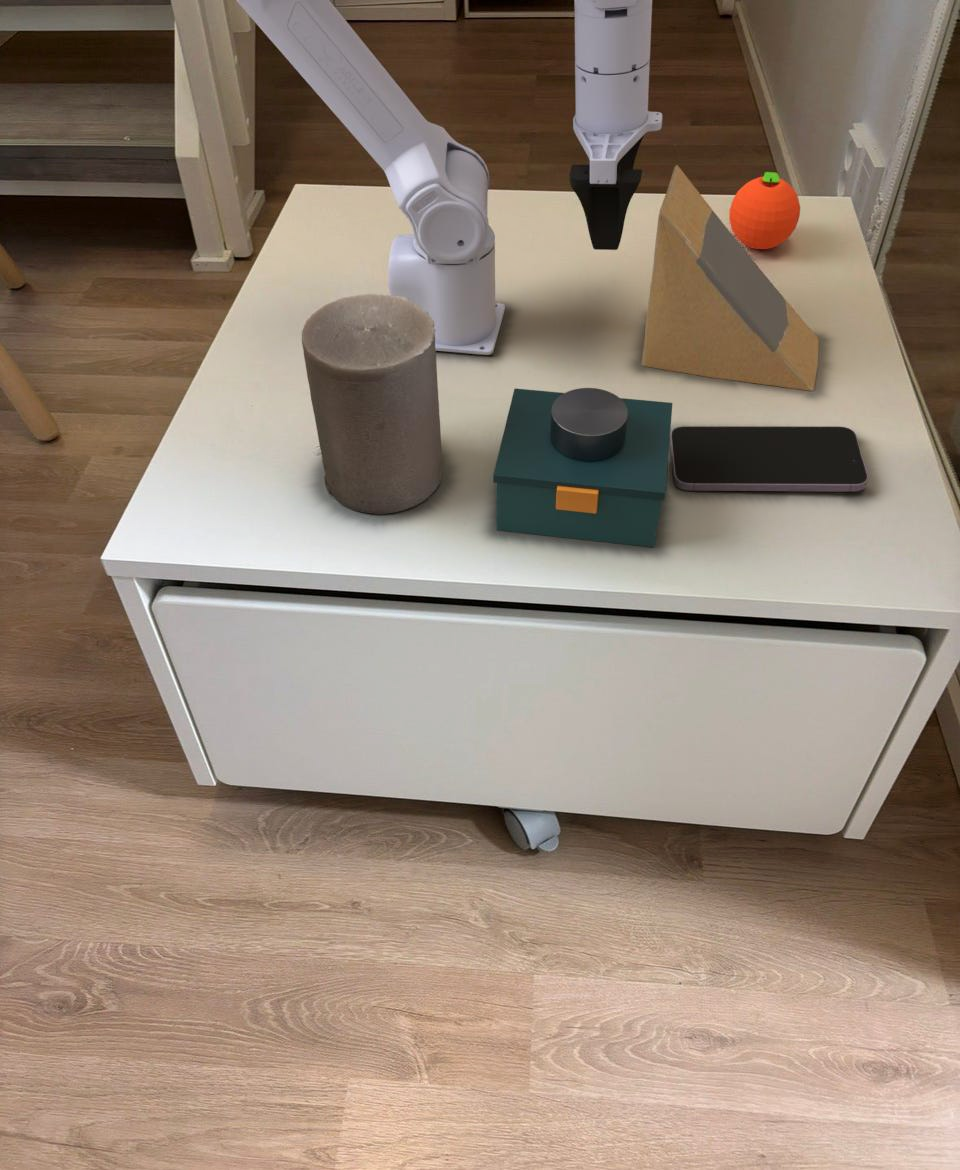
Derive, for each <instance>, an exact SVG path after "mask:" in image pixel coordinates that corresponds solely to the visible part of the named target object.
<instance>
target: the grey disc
mask: <svg viewBox="0 0 960 1170" xmlns="http://www.w3.org/2000/svg"><path fill="white" fill-rule="evenodd" d="M563 393H564V394H562V395H561V396H559V397H558V398H557V399H556V400H555V402H554V403H553V405H552V409H551V431H550V438H551V442H552V444H553V446H554V447H555V449H556V450H557V451H558V452H560V453H561V454H562V455H564V456H566V457H568V458H571V459H574V460H578V461H585V462H594V461H601V460H605V459H608V458H610V457H612V456H614V455H616V454H617V453H618V452H619V451H620V450H621V449H622V447H623V446H624V443H625V437H626V428H627V419H628V409H627V407H626V405H625V403H624V402H623V401H622V400H621V399H620V398H621V397H619V396H618V395H616V394H615V393H613V392H610V391H608V390H605V389H601V388H596V387H581V388H580V387H579V388H575V389H571V390H568V391H566V392H563Z"/></svg>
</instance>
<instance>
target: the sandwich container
mask: <svg viewBox="0 0 960 1170" xmlns="http://www.w3.org/2000/svg"><path fill="white" fill-rule="evenodd" d="M657 218H658V219H657V227H656V236H655V243H654V244H655V245H654V251H653V260H652V262H653V263H652V268H651V269H652V270H651V278H650V286H649V294H648V305H647V312H646V322H645V330H644V339H643V348H642V357H641V366H643V367H646V368H654V369H658V370H659V369H660V370H666V371H671V372H677V373H682V374H689V375H694V376H695V375H696V376H701V377H706V378H713V379H721V380H728V381H737V382H744V383H749V384H751V383H752V384H758V385H766V386H772V387H780V388H787V389H793V390H794V389H795V390H803V391H810V392H814V389H815V384H816V377H817V371H818V367H819V343H820V342H819V341H820V340H819V337H818V336H817V335H816V334H815V333H814V332H813V331H812V329H811V328H810V327H809V325H808V324H807V323H806V322H805V321H804V319H802V317H801V316H800V315H799V314H798V313H797V312H796V310H795V309H794V308H793V307H792V306H791V304H790V303H789V302H788V301H787V300H786V298H785V297H784V296H783V295H782V294H781V292H780V291H779V290H778V289H777V287H776V286H775V285H774V284H773V283H772V281H771V280H770V279H769V278H768V276H766V274H765V273H764V272H763V271H762V269H761V268H760V267H759V265H758V264H757V263H756V262H755V260H753V258H752V257H751V256H750V255H749V253H748V252H747V251H746V249H745V248H744V247H743V246H742V245H741V243H740V241H739V240H738V239H737V238H735V235H734V234H733V233H731V231H730V230H729V229H728V227H727V226H726V225H725V224H724V223H723V221H722V220H721V219H720V218H719V216H718V215H717V213H716V212H715V211H714V210H713V209H712V207H711V206H710V205H709V203H708V202H707V201H706V199H705V198H704V197H703V195H701V194H700V192H699V191H698V189H697V188H696V187H695V185H694V184H693V183H692V182H691V180H690V179H689V178H688V177H687V175H686V174H685V172H683V170H682V169H681V167H679V165H678V164H676V165H674V168H673V170H672V174H671V177H670V181H669V184H668V187H667V190H666V192H665V195H664V198H663V201H662V203H661V206H660V209H659V213H658V217H657Z"/></svg>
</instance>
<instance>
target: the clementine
mask: <svg viewBox="0 0 960 1170" xmlns="http://www.w3.org/2000/svg"><path fill="white" fill-rule="evenodd" d="M728 213H729V214H728V215H729V216H728V220H729V224H730V228H731V232H732V234H733V235H734V237H736V240H737V241H738V242H740V243H742V244H744V245H745V246H746V247H748V248H750V249H754V250H755V249H756V250H767V249H771V248H772V249H773V248H775V247H777V246H779V245H781V244H783V242H785V241H787V240H788V239H789V238H790V236H791V235H792V234H793V232H795V230H796V228H797V225H798V223H799V220H800V216H801V204H800V200H799V196H798V193H797V192H796V190H795V189H794V187H793V186H792V185H790V183H788V182H787V181H785V180H784V179H782V178H780V176H779V174H778V173H777V172H773V171H765V172H764V174H763V176H759V177H757V178H754V179H751V180H750V181H747V182H746V183H745V184H744V185H743V186H742V187H740V189H738V191H737V192H736V193H735V195H734V197H733V199H732V201H731V204H730V207H729V211H728Z"/></svg>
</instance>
